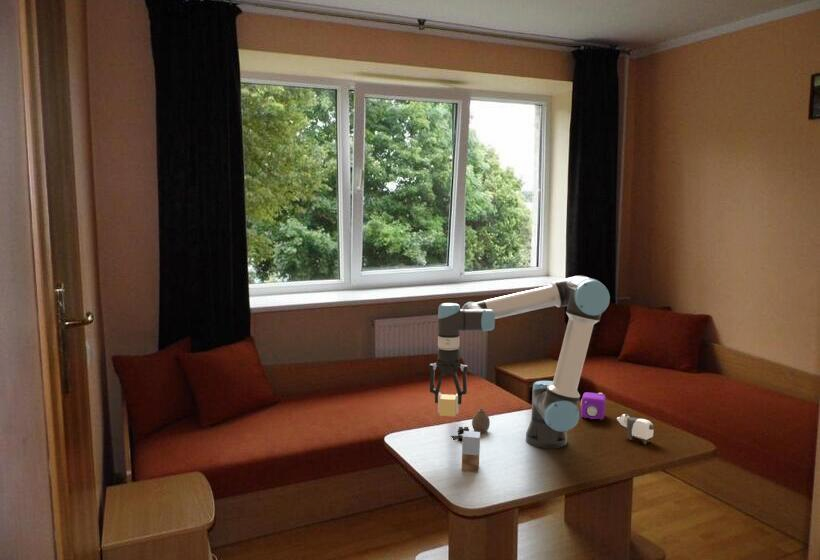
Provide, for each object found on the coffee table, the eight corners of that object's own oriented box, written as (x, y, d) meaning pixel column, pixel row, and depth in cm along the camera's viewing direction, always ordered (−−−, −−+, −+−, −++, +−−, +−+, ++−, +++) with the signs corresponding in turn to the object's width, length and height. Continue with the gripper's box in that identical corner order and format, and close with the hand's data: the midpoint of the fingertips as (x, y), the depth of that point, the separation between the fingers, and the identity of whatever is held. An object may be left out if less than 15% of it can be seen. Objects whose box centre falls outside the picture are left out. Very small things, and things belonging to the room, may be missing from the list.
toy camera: (581, 422, 255) (582, 399, 253) (578, 411, 268) (579, 389, 267) (608, 424, 253) (610, 401, 252) (603, 413, 266) (605, 391, 265)
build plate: (478, 436, 239) (478, 424, 238) (481, 443, 231) (481, 431, 231) (446, 436, 238) (446, 424, 237) (448, 443, 231) (448, 431, 230)
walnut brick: (479, 465, 210) (479, 448, 210) (478, 472, 205) (478, 455, 204) (463, 464, 211) (463, 447, 210) (461, 470, 206) (462, 453, 205)
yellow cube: (456, 411, 219) (456, 394, 218) (455, 416, 214) (455, 399, 213) (441, 410, 220) (441, 394, 219) (439, 415, 214) (439, 399, 214)
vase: (492, 430, 243) (493, 409, 242) (484, 435, 238) (485, 413, 236) (476, 427, 247) (477, 405, 246) (468, 432, 241) (469, 410, 240)
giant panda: (655, 443, 234) (657, 418, 233) (648, 446, 230) (650, 422, 229) (619, 432, 244) (621, 408, 243) (612, 435, 241) (613, 411, 239)
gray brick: (479, 449, 209) (480, 432, 209) (478, 455, 204) (479, 438, 203) (463, 447, 210) (464, 430, 210) (462, 453, 205) (462, 436, 204)
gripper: (420, 349, 212) (420, 414, 214) (474, 351, 209) (473, 417, 211) (423, 344, 219) (423, 407, 222) (476, 346, 216) (475, 410, 219)
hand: (448, 412), depth 217 cm, fingers closed on yellow cube, 5 cm apart
